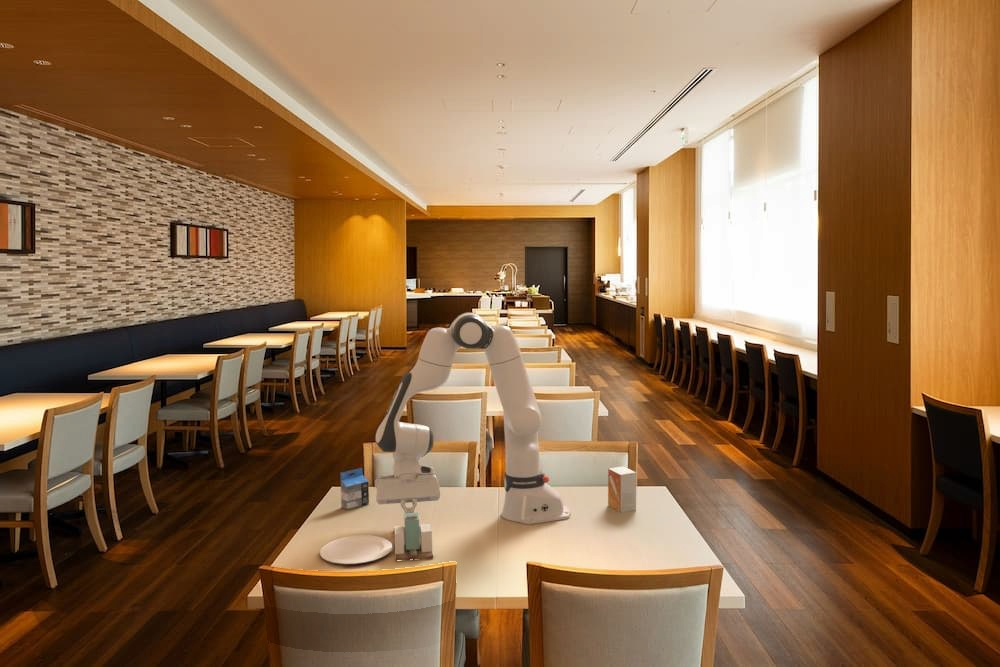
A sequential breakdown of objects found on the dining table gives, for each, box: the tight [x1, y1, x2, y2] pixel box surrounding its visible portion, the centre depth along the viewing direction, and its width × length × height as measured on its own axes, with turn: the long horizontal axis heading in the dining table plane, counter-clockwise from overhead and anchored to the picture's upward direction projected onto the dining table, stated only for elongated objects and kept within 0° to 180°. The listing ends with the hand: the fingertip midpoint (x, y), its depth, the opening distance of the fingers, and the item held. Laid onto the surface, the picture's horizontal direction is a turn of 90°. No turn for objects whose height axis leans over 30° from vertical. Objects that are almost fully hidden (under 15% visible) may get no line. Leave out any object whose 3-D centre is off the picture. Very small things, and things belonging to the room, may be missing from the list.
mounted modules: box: [393, 523, 433, 554], centre depth 218 cm, size 10×6×6 cm, turn 99°
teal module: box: [403, 512, 420, 550], centre depth 219 cm, size 4×6×10 cm, turn 9°
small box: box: [607, 465, 637, 513], centre depth 253 cm, size 8×6×13 cm
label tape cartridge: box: [340, 467, 370, 511], centre depth 258 cm, size 9×4×12 cm, turn 131°
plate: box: [319, 534, 393, 566], centre depth 219 cm, size 21×21×2 cm
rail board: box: [393, 525, 434, 561], centre depth 224 cm, size 10×24×1 cm, turn 9°
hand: (409, 514), depth 235 cm, fingers closed
